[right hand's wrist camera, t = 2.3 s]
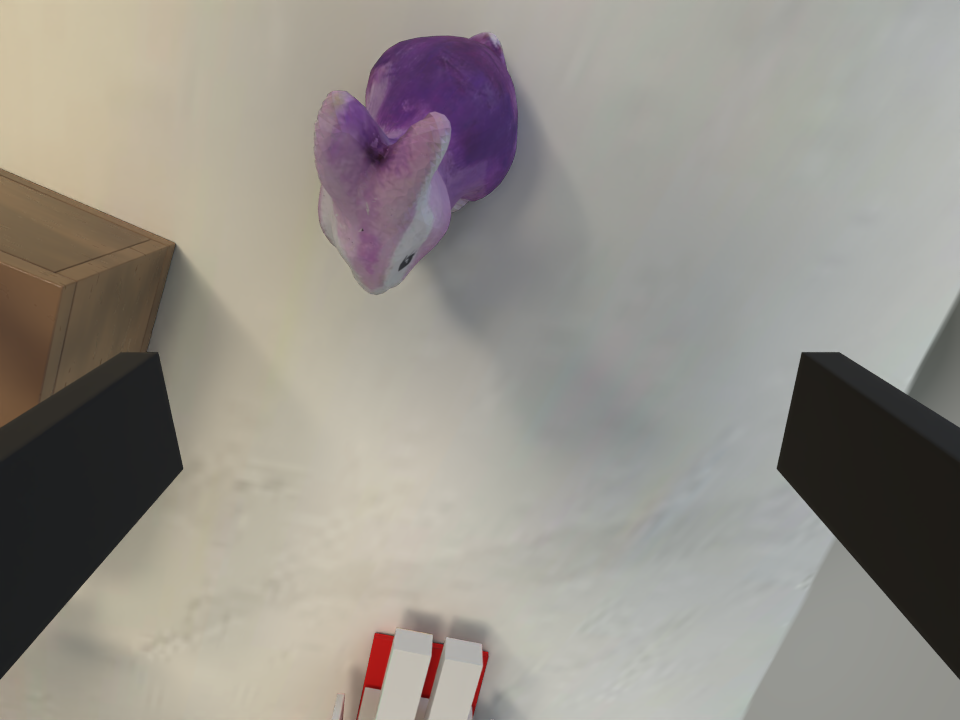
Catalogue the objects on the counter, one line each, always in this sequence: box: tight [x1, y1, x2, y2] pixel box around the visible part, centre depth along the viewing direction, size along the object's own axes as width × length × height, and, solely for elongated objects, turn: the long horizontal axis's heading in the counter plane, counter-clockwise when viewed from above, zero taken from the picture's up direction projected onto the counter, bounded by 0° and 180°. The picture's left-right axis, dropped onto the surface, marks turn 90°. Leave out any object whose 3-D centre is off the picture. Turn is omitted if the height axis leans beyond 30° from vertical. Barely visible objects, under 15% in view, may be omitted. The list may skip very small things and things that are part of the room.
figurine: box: [314, 32, 518, 295], centre depth 26 cm, size 9×10×15 cm
